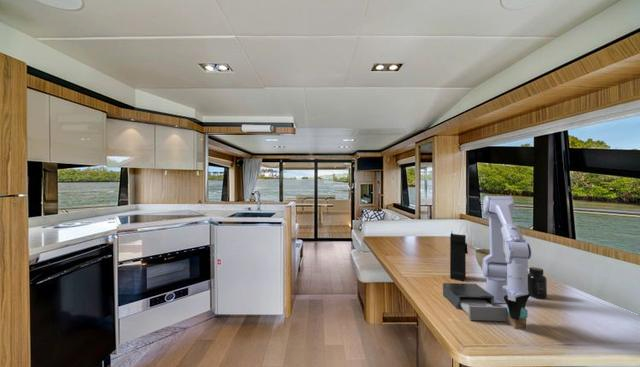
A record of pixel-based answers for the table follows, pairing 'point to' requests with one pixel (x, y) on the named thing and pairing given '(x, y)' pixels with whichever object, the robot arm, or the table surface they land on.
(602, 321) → the table surface
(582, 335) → the table surface
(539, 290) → the supplement bottle
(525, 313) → the disc
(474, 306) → the tray
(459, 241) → the portable radio
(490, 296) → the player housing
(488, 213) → the robot arm
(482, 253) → the planter bowl
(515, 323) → the walnut block
